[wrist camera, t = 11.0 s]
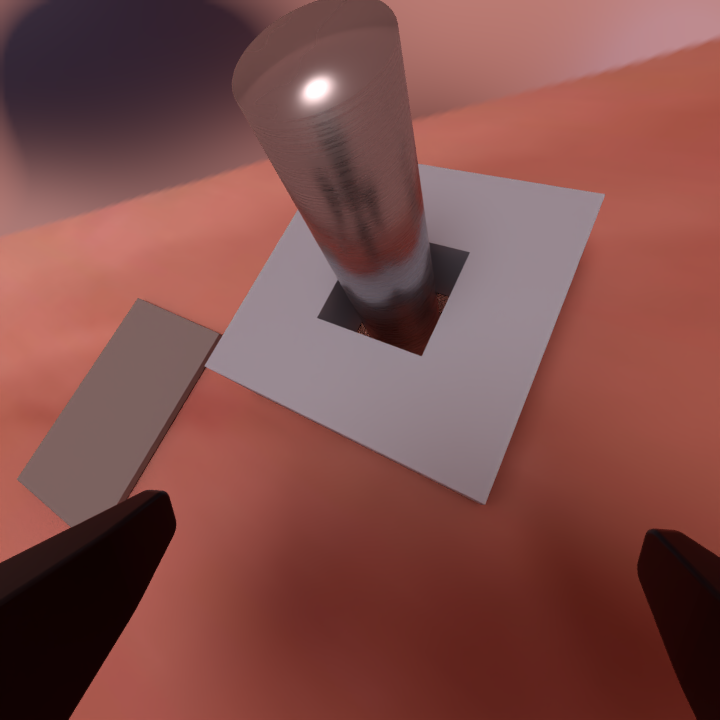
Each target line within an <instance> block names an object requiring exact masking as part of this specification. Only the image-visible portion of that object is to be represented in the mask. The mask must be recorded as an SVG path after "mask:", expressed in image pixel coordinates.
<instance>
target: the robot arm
mask: <svg viewBox="0 0 720 720" xmlns="http://www.w3.org/2000/svg"><path fill="white" fill-rule="evenodd" d="M175 530H176V519H175V515H174V511H173V508H172V504H171V501H170V497H169V495H168V494H167V493H166V492H165V491H159V490H145V491H143V492H141V493H139V494H137V495H135V496H133V497H131V498H129V499H127V500H125V501H123V502H121V503H119V504H117V505H115V506H113V507H111V508H109V509H107V510H105V511H103V512H101V513H99V514H97V515H95V516H93V517H91V518H89V519H87V520H85V521H83V522H81V523H79V524H77V525H75V526H73V527H71V528H69V529H67V530H65V531H63V532H61V533H59V534H57V535H55V536H53V537H51V538H49V539H47V540H45V541H43V542H41V543H39V544H37V545H35V546H33V547H31V548H29V549H27V550H25V551H23V552H21V553H19V554H17V555H15V556H13V557H11V558H9V559H7V560H5V561H3V562H1V563H0V720H69V718H70V717H71V715H72V713H73V712H74V710H75V708H76V707H77V705H78V703H79V702H80V700H81V699H82V697H83V695H84V694H85V692H86V690H87V689H88V687H89V686H90V684H91V682H92V681H93V679H94V677H95V676H96V674H97V672H98V671H99V669H100V668H101V666H102V664H103V663H104V661H105V659H106V658H107V656H108V655H109V653H110V651H111V650H112V648H113V646H114V645H115V643H116V641H117V640H118V638H119V637H120V635H121V633H122V632H123V630H124V628H125V627H126V625H127V624H128V622H129V620H130V618H131V617H132V615H133V613H134V612H135V610H136V608H137V606H138V604H139V602H140V601H141V599H142V597H143V595H144V593H145V591H146V589H147V587H148V585H149V583H150V581H151V579H152V577H153V575H154V573H155V571H156V569H157V567H158V565H159V563H160V561H161V559H162V557H163V555H164V553H165V551H166V549H167V547H168V545H169V543H170V541H171V539H172V537H173V535H174V533H175ZM637 571H638V577H639V580H640V583H641V585H642V588H643V591H644V593H645V596H646V598H647V601H648V603H649V606H650V609H651V611H652V614H653V616H654V619H655V622H656V624H657V627H658V629H659V632H660V635H661V637H662V640H663V642H664V645H665V648H666V650H667V653H668V655H669V658H670V661H671V663H672V666H673V668H674V671H675V673H676V675H677V678H678V680H679V683H680V685H681V687H682V689H683V691H684V694H685V696H686V698H687V700H688V702H689V704H690V706H691V708H692V710H693V712H694V714H695V716H696V719H697V720H720V557H718V556H717V555H715V554H714V553H712V552H711V551H709V550H707V549H706V548H704V547H703V546H701V545H700V544H698V543H697V542H695V541H694V540H692V539H691V538H689V537H688V536H686V535H685V534H683V533H681V532H679V531H676V530H667V529H650V530H648V531H647V533H646V535H645V538H644V542H643V545H642V549H641V553H640V556H639V560H638V564H637Z"/></svg>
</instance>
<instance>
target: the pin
mask: <svg viewBox="0 0 720 720" xmlns="http://www.w3.org/2000/svg"><path fill="white" fill-rule="evenodd" d="M232 90H233V95H234V98H235V100H236V102H237V103H238V105H239V107H240V109H241V111H242V112H243V114H244V116H245V117H246V119H247V121H248V123H249V125H250V126H251V128H252V130H253V132H254V133H255V135H256V137H257V138H258V140H259V142H260V144H261V146H262V147H263V149H264V151H265V153H266V154H267V156H268V158H269V160H270V161H271V163H272V165H273V167H274V168H275V170H276V172H277V174H278V175H279V177H280V179H281V181H282V182H283V184H284V186H285V188H286V189H287V191H288V193H289V195H290V196H291V198H292V200H293V202H294V203H295V205H296V207H297V209H298V210H299V212H300V214H301V216H302V217H303V219H304V221H305V223H306V224H307V226H308V228H309V230H310V231H311V233H312V235H313V237H314V239H315V240H316V242H317V244H318V246H319V247H320V249H321V251H322V253H323V254H324V256H325V258H326V260H327V261H328V263H329V265H330V267H331V268H332V270H333V272H334V274H335V275H336V277H337V279H338V281H339V282H340V284H341V286H342V288H343V289H344V291H345V293H346V295H347V296H348V298H349V300H350V302H351V303H352V305H353V307H354V309H355V310H356V312H357V314H358V316H359V317H360V319H361V321H362V323H363V324H364V326H365V328H366V330H367V331H368V333H369V335H370V337H371V338H373V339H376V340H378V341H381V342H384V343H387V344H389V345H392V346H395V347H397V348H400V349H403V350H406V351H408V352H411V353H414V354H416V355H419V356H422V355H423V353H424V350H425V348H426V346H427V344H428V342H429V340H430V338H431V335H432V333H433V331H434V329H435V327H436V325H437V322H438V320H439V318H440V315H439V308H438V301H437V294H436V287H435V280H434V273H433V266H432V259H431V252H430V245H429V238H428V231H427V224H426V217H425V210H424V203H423V196H422V189H421V182H420V175H419V168H418V161H417V154H416V147H415V140H414V134H413V127H412V120H411V113H410V106H409V99H408V92H407V85H406V78H405V71H404V64H403V57H402V50H401V43H400V36H399V29H398V23H397V19H396V16H395V15H394V13H393V11H392V10H391V9H390V8H389V7H388V6H387V5H386V4H385V3H383V2H382V1H379V0H318V1H315V2H312V3H309V4H307V5H304V6H302V7H300V8H298V9H296V10H294V11H292V12H290V13H288V14H286V15H285V16H283V17H281V18H280V19H279V20H277V21H275V22H274V23H273V24H271V25H270V26H269V27H267V28H266V29H265V30H264V31H263V32H262V33H260V34H259V36H257V37H256V38H255V39H254V40H253V42H252V43H251V44H250V45H249V46H248V47H247V49H246V50H245V51H244V53H243V54H242V56H241V58H240V60H239V61H238V63H237V65H236V68H235V71H234V74H233V79H232Z"/></svg>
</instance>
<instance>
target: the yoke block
mask: <svg viewBox="0 0 720 720" xmlns="http://www.w3.org/2000/svg"><path fill="white" fill-rule="evenodd" d="M418 168H419V175H420V182H421V189H422V196H423V203H424V210H425V217H426V224H427V231H428V238H429V245H430V252H431V259H432V266H433V273H434V280H435V287H436V293H439V294H443V295H446V296H450V297H449V299H448V301H447V303H446V305H445V307H444V310H443V312H442V314H441V316H440V318H439V320H438V322H437V325H436V327H435V329H434V331H433V333H432V335H431V338H430V340H429V342H428V344H427V346H426V348H425V350H424V353H423V355H422V356H419V355H416V354H414V353H411V352H408V351H406V350H403V349H400V348H397V347H395V346H392V345H389V344H387V343H384V342H381V341H378V340H376V339H373V338H370V337H368V336H365V335H362V334H359V333H357V330H358V328H359V326H360V324H361V322H362V321H361V319H360V317H359V316H358V314H357V312H356V310H355V309H354V307H353V305H352V303H351V302H350V300H349V298H348V296H347V295H346V293H345V291H344V289H343V288H342V286H341V284H340V282H339V281H338V279H337V277H336V275H335V274H334V272H333V270H332V268H331V267H330V265H329V263H328V261H327V260H326V258H325V256H324V254H323V253H322V251H321V249H320V247H319V246H318V244H317V242H316V240H315V239H314V237H313V235H312V233H311V231H310V230H309V228H308V226H307V224H306V223H305V221H304V219H303V217H302V216H301V214H300V212H299V210H297V212H296V214H295V215H294V217H293V219H292V220H291V222H290V224H289V225H288V227H287V229H286V230H285V232H284V234H283V235H282V237H281V239H280V240H279V242H278V244H277V245H276V247H275V249H274V250H273V252H272V254H271V255H270V257H269V259H268V261H267V262H266V264H265V266H264V267H263V269H262V271H261V272H260V274H259V276H258V277H257V279H256V281H255V282H254V284H253V286H252V287H251V289H250V291H249V292H248V294H247V296H246V297H245V299H244V301H243V302H242V304H241V306H240V307H239V309H238V311H237V312H236V314H235V316H234V317H233V319H232V321H231V322H230V324H229V326H228V327H227V329H226V331H225V332H224V334H223V336H222V337H221V339H220V341H219V342H218V344H217V346H216V347H215V349H214V351H213V352H212V354H211V356H210V357H209V359H208V361H207V363H206V364H205V367H207V368H209V369H211V370H213V371H215V372H216V373H218V374H220V375H222V376H224V377H226V378H228V379H230V380H232V381H234V382H236V383H237V384H239V385H241V386H243V387H245V388H247V389H249V390H251V391H253V392H255V393H257V394H259V395H261V396H263V397H265V398H267V399H269V400H271V401H273V402H275V403H277V404H279V405H281V406H283V407H285V408H287V409H289V410H291V411H293V412H295V413H297V414H299V415H301V416H303V417H305V418H307V419H309V420H311V421H313V422H315V423H317V424H319V425H321V426H323V427H325V428H327V429H329V430H331V431H333V432H335V433H337V434H339V435H341V436H343V437H346V438H348V439H350V440H352V441H354V442H356V443H358V444H360V445H362V446H364V447H366V448H368V449H370V450H372V451H374V452H376V453H378V454H380V455H382V456H384V457H386V458H388V459H390V460H392V461H394V462H396V463H398V464H400V465H402V466H404V467H406V468H408V469H410V470H412V471H414V472H416V473H418V474H420V475H422V476H424V477H426V478H428V479H430V480H432V481H434V482H436V483H438V484H440V485H442V486H444V487H446V488H448V489H450V490H452V491H455V492H457V493H459V494H461V495H463V496H465V497H467V498H469V499H471V500H473V501H475V502H477V503H479V504H482V505H485V504H486V501H487V498H488V496H489V493H490V491H491V488H492V486H493V483H494V480H495V478H496V475H497V473H498V470H499V468H500V465H501V462H502V460H503V457H504V455H505V452H506V449H507V447H508V444H509V442H510V439H511V437H512V434H513V431H514V429H515V426H516V424H517V421H518V418H519V416H520V413H521V411H522V408H523V406H524V403H525V400H526V398H527V395H528V393H529V390H530V387H531V385H532V382H533V380H534V377H535V375H536V372H537V369H538V367H539V364H540V362H541V359H542V356H543V354H544V351H545V349H546V346H547V344H548V341H549V338H550V336H551V333H552V331H553V328H554V326H555V323H556V320H557V318H558V315H559V313H560V310H561V307H562V305H563V302H564V300H565V297H566V295H567V292H568V289H569V287H570V284H571V282H572V279H573V276H574V274H575V271H576V269H577V266H578V264H579V261H580V258H581V256H582V253H583V251H584V248H585V245H586V243H587V240H588V238H589V235H590V233H591V230H592V227H593V225H594V222H595V220H596V217H597V215H598V212H599V209H600V207H601V204H602V202H603V199H604V196H605V194H600V193H594V192H588V191H582V190H576V189H570V188H563V187H557V186H551V185H545V184H539V183H533V182H526V181H520V180H514V179H508V178H502V177H496V176H490V175H483V174H477V173H471V172H465V171H459V170H453V169H446V168H440V167H434V166H428V165H422V164H418Z"/></svg>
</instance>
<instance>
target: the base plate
mask: <svg viewBox="0 0 720 720" xmlns="http://www.w3.org/2000/svg"><path fill="white" fill-rule="evenodd" d="M221 337H222V335H220V334H219V333H217V332H214V331H212V330H210V329H207V328H205V327H203V326H201V325H198V324H196V323H194V322H192V321H189V320H187V319H185V318H182V317H180V316H178V315H176V314H173V313H171V312H169V311H166V310H164V309H162V308H160V307H157V306H155V305H153V304H151V303H148V302H146V301H144V300H141V299H139V298H138V299H137V300H136V302H135V303H134V305H133V306H132V308H131V309H130V311H129V312H128V314H127V315H126V317H125V318H124V320H123V321H122V323H121V324H120V326H119V327H118V329H117V330H116V332H115V333H114V335H113V336H112V338H111V339H110V341H109V342H108V344H107V345H106V347H105V348H104V350H103V351H102V353H101V354H100V356H99V357H98V359H97V360H96V362H95V363H94V365H93V366H92V368H91V369H90V371H89V372H88V374H87V375H86V377H85V378H84V380H83V381H82V383H81V384H80V386H79V387H78V389H77V390H76V392H75V393H74V395H73V396H72V398H71V399H70V401H69V402H68V403H67V405H66V406H65V408H64V409H63V411H62V412H61V414H60V415H59V417H58V418H57V420H56V421H55V423H54V424H53V426H52V427H51V429H50V430H49V432H48V433H47V435H46V436H45V438H44V439H43V441H42V442H41V444H40V445H39V447H38V448H37V450H36V451H35V453H34V454H33V456H32V457H31V459H30V460H29V462H28V463H27V465H26V466H25V468H24V469H23V471H22V472H21V474H20V475H19V477H18V478H17V480H18V481H19V482H20V483H22V484H23V485H24V486H25V487H26V488H27V489H28V490H29V491H31V492H32V493H33V494H34V495H35V496H36V497H37V498H39V499H40V500H41V501H42V502H43V503H44V504H45V505H46V506H48V507H49V508H50V509H51V510H52V511H53V512H54V513H56V514H57V515H58V516H59V517H60V518H61V519H62V520H63V521H65V522H66V523H67V524H68V525H69V526H70V527H73V526H75V525H77V524H79V523H81V522H83V521H85V520H87V519H89V518H91V517H93V516H95V515H97V514H99V513H101V512H103V511H105V510H107V509H109V508H111V507H113V506H115V505H117V504H119V503H121V502H123V501H125V500H126V499H127V497H128V496H129V494H130V492H131V491H132V489H133V487H134V486H135V484H136V482H137V481H138V479H139V477H140V476H141V474H142V472H143V471H144V469H145V467H146V466H147V464H148V462H149V461H150V459H151V457H152V456H153V454H154V452H155V451H156V449H157V447H158V446H159V444H160V442H161V441H162V439H163V437H164V435H165V434H166V432H167V430H168V429H169V427H170V425H171V424H172V422H173V420H174V419H175V417H176V415H177V414H178V412H179V410H180V409H181V407H182V405H183V404H184V402H185V400H186V399H187V397H188V395H189V394H190V392H191V390H192V389H193V387H194V385H195V384H196V382H197V380H198V379H199V377H200V375H201V374H202V372H203V370H204V368H205V364H206V363H207V361H208V359H209V357H210V356H211V354H212V352H213V351H214V349H215V347H216V346H217V344H218V342H219V341H220V339H221Z"/></svg>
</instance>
